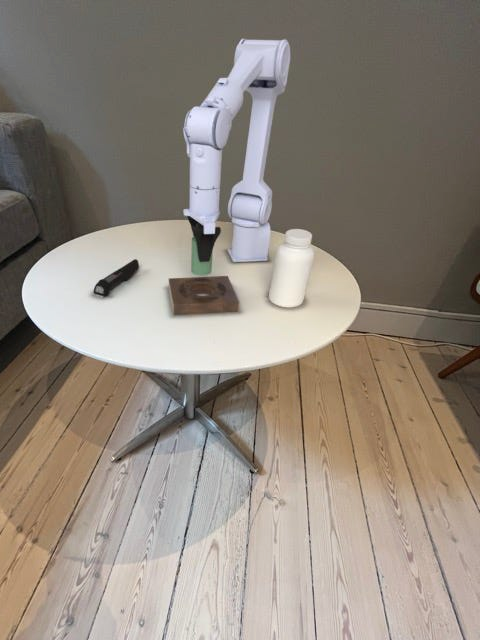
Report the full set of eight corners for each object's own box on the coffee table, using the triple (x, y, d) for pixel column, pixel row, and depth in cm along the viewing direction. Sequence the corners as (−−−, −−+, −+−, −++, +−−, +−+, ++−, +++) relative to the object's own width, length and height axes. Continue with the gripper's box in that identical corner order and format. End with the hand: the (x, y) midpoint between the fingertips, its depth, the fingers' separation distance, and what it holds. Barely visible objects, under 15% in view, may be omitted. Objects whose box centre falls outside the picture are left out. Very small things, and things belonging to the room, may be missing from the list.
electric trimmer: (143, 272, 97) (142, 260, 95) (105, 298, 87) (104, 285, 85) (131, 268, 99) (130, 256, 97) (92, 294, 88) (90, 281, 86)
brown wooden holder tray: (227, 285, 92) (227, 275, 91) (237, 311, 84) (239, 301, 82) (168, 288, 91) (168, 278, 89) (173, 315, 82) (173, 304, 80)
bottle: (209, 266, 85) (212, 219, 79) (213, 275, 82) (215, 227, 75) (190, 267, 85) (190, 220, 78) (192, 276, 82) (193, 228, 75)
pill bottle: (282, 311, 84) (296, 243, 74) (261, 295, 89) (271, 229, 79) (310, 303, 87) (327, 237, 76) (288, 288, 92) (301, 223, 82)
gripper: (179, 175, 77) (179, 242, 86) (188, 198, 66) (187, 272, 75) (214, 175, 78) (211, 241, 87) (228, 197, 67) (223, 270, 76)
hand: (202, 255), depth 81 cm, fingers closed on bottle, 4 cm apart
